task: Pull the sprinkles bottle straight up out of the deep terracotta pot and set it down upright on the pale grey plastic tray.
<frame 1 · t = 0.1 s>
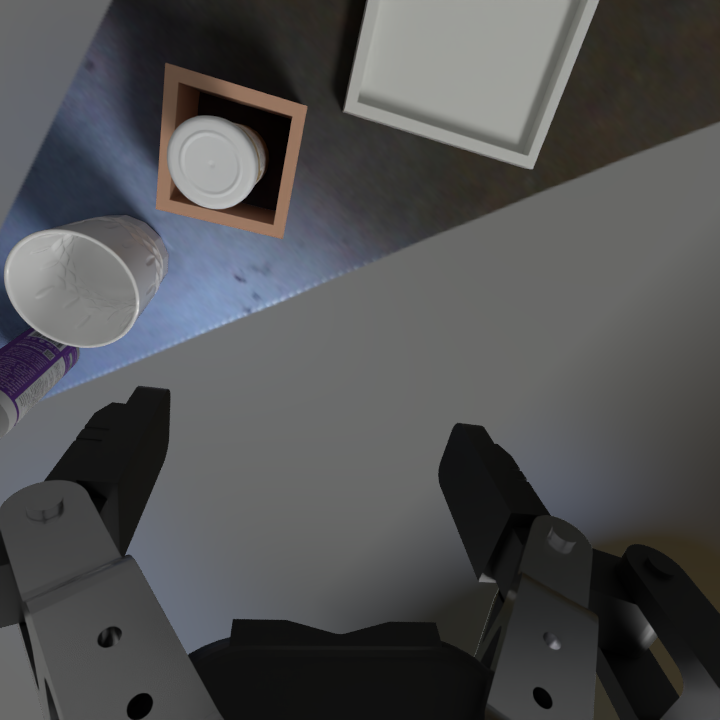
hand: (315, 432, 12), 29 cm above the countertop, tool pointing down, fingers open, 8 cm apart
sprinkles bottle: (241, 155, 35), resting in pot
container: (52, 347, 40), on the countertop
tray: (471, 25, 33), on the countertop
pot: (241, 155, 35), on the countertop
white cup: (128, 254, 37), on the countertop
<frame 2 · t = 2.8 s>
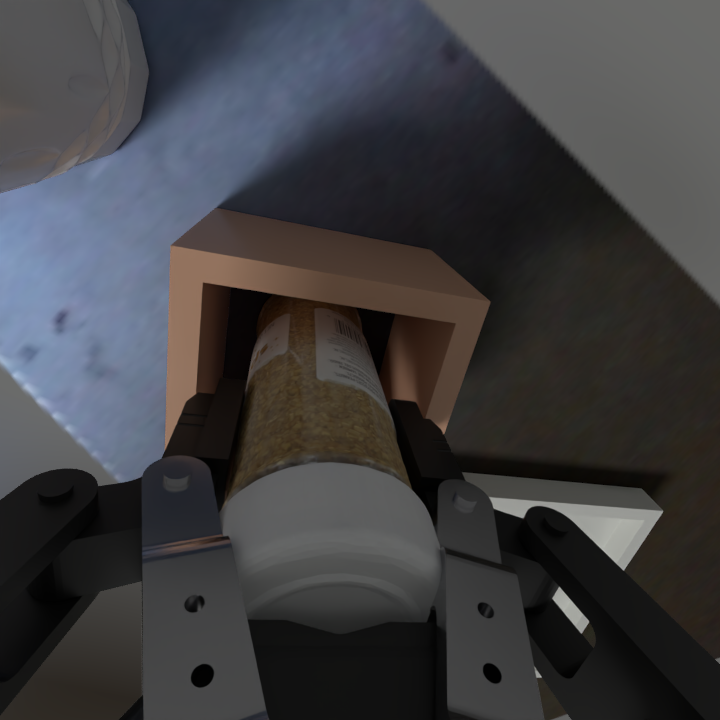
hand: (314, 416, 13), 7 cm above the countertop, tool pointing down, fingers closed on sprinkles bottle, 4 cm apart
sprinkles bottle: (310, 327, 19), resting in pot, touching gripper
tray: (475, 574, 28), on the countertop
pot: (311, 329, 19), on the countertop
white cup: (40, 51, 14), on the countertop
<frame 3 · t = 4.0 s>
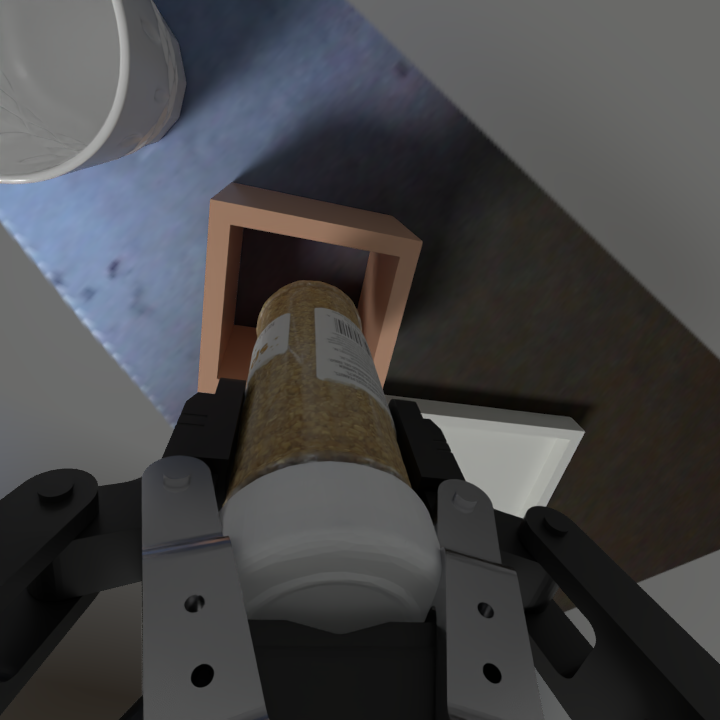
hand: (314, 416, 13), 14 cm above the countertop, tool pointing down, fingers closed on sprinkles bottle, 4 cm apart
sprinkles bottle: (310, 326, 19), point 7 cm above the countertop, touching gripper
tray: (439, 491, 34), on the countertop
pot: (302, 277, 25), on the countertop
white cup: (109, 68, 20), on the countertop
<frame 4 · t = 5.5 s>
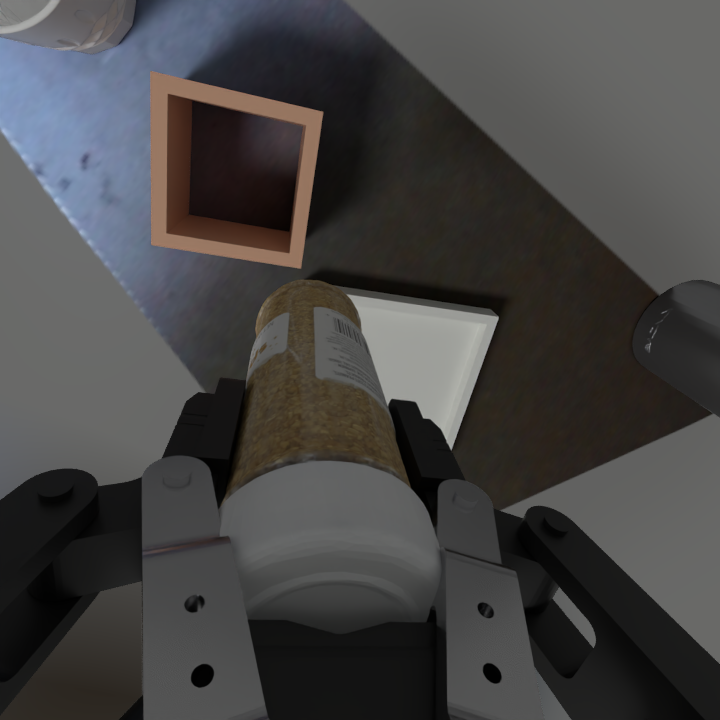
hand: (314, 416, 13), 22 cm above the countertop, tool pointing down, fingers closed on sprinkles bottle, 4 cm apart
sprinkles bottle: (310, 326, 19), point 15 cm above the countertop, touching gripper
tray: (379, 380, 39), on the countertop
pot: (244, 171, 30), on the countertop
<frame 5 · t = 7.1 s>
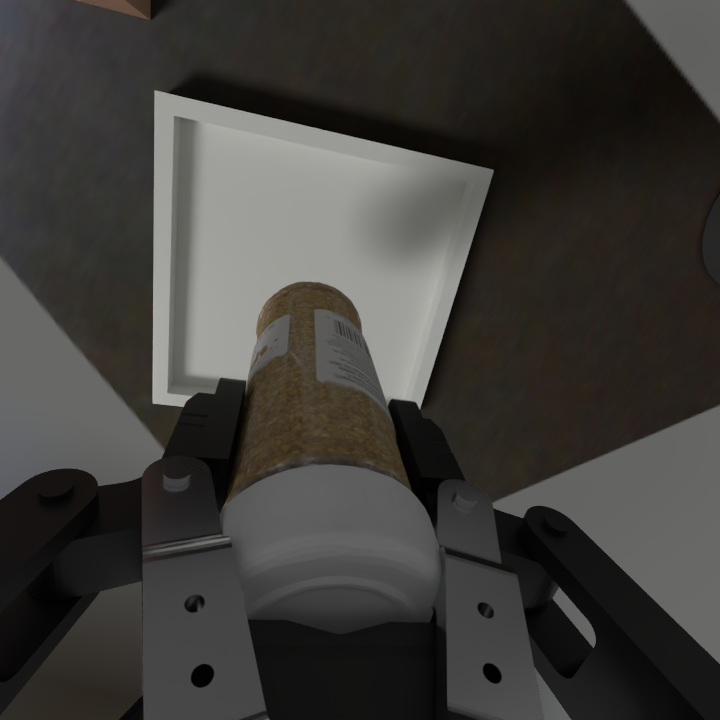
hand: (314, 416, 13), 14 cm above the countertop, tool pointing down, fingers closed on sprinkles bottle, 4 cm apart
sprinkles bottle: (310, 327, 19), point 7 cm above the countertop, touching gripper
tray: (309, 285, 26), on the countertop
when the fingers open (9 cm above the countertop, at t = 8.3 s): sprinkles bottle drops 1 cm, resting on tray.
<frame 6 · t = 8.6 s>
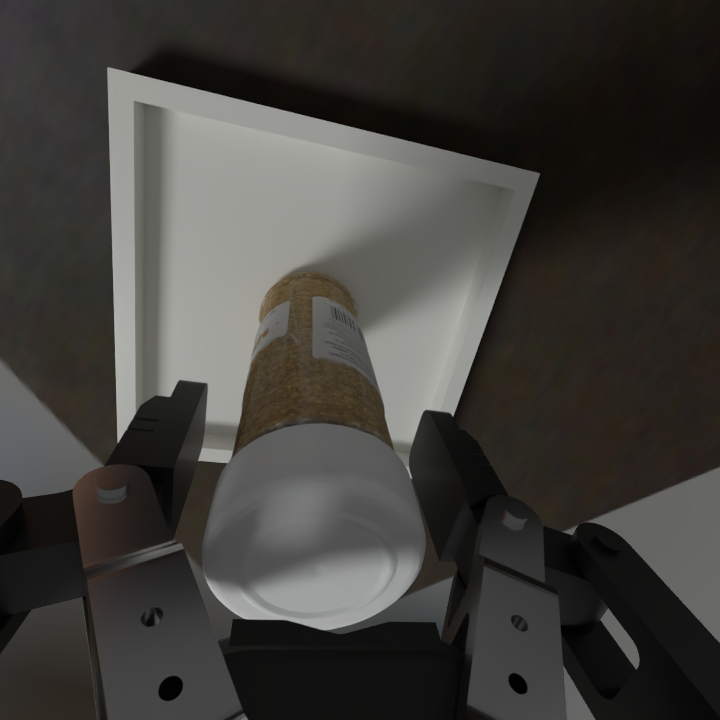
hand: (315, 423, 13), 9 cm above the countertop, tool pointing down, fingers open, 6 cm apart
sprinkles bottle: (310, 315, 21), resting on tray
tray: (309, 311, 21), on the countertop
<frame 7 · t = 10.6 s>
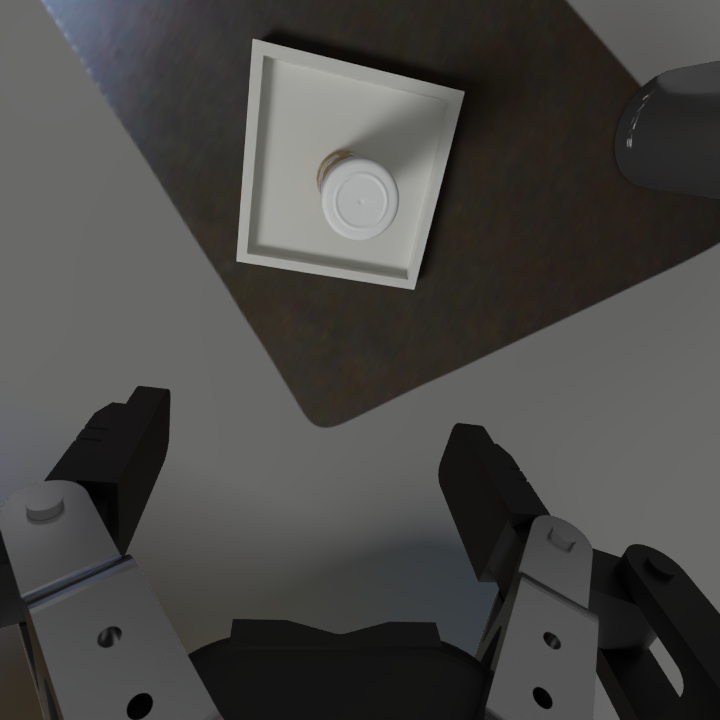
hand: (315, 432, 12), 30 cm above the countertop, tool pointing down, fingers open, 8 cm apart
sprinkles bottle: (343, 180, 37), resting on tray
tray: (342, 179, 38), on the countertop
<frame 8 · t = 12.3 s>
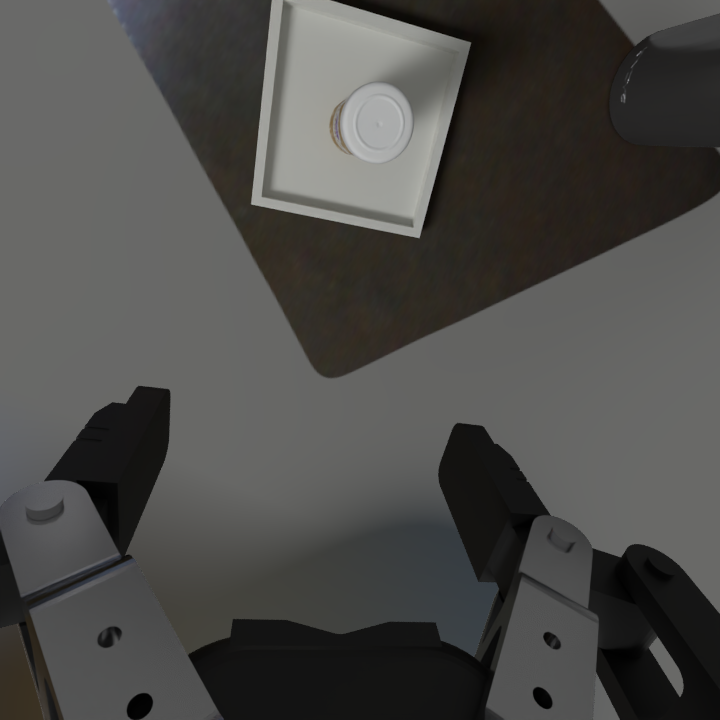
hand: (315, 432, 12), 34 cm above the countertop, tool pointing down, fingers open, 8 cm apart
sprinkles bottle: (354, 128, 39), resting on tray
tray: (353, 127, 39), on the countertop
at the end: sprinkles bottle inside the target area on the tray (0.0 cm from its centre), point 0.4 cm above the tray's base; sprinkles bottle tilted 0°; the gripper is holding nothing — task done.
